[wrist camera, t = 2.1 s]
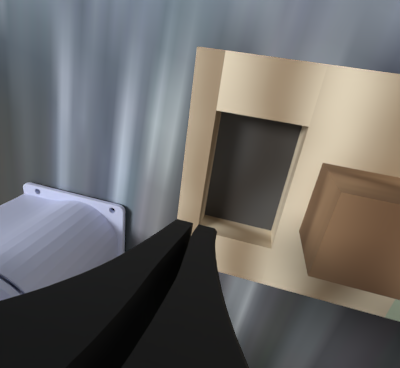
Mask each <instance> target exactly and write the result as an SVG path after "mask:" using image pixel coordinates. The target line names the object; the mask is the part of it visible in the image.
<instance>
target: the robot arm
mask: <svg viewBox="0 0 400 368" xmlns="http://www.w3.org/2000/svg"><path fill="white" fill-rule="evenodd" d="M23 190H24V194H23V195H21V196H19V197H17V198H15V199H13V200H11V201H9V202H7V203H4V204H2V205H0V368H249V367H248V364H247V362H246V359H245V357H244V354H243V352H242V349H241V347H240V345H239V342H238V340H237V337H236V335H235V332H234V329H233V326H232V323H231V320H230V317H229V314H228V311H227V308H226V304H225V301H224V297H223V293H222V289H221V284H220V280H219V274H218V268H217V261H216V250H215V240H216V235H217V231H216V229H215V228H211V227H207V226H203V225H198V226H197V227H196V228H195V230H194V232H193V233H192V227H193V223H191V222H187V221H183V220H179V219H177V220H175V221H174V222H172V223H171V224H169V225H168V226H166V227H165V228H163V229H162V230H160V231H159V232H157V233H156V234H154V235H153V236H151V237H150V238H148V239H147V240H145V241H143V242H142V243H140V244H139V245H137V246H135V247H134V248H132V249H130V250H128V251H127V252H125V208H124V207H123V206H122V205H119V204H115V203H111V202H107V201H103V200H99V199H95V198H91V197H87V196H83V195H79V194H75V193H71V192H67V191H63V190H59V189H55V188H51V187H47V186H43V185H39V184H35V183H31V182H28V183H26V184H24V185H23ZM39 190H40V191H39ZM112 208H114V210H115V211H113V210H112ZM191 234H192V236H191Z"/></svg>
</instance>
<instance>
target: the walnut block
mask: <svg viewBox="0 0 400 368" xmlns="http://www.w3.org/2000/svg"><path fill="white" fill-rule="evenodd" d="M299 234H300V239H301V244H302V249H303V254H304V259H305V264H306V269H307V274H308V276H310V277H314V278H317V279H321V280H325V281H329V282H332V283H336V284H340V285H344V286H348V287H351V288H355V289H359V290H363V291H367V292H370V293H374V294H378V295H382V296H386V297H389V298H393V299H397V300H400V178H399V177H393V176H388V175H383V174H378V173H373V172H368V171H363V170H358V169H352V168H347V167H342V166H337V165H332V164H327V163H323V164H322V166H321V169H320V172H319V175H318V178H317V181H316V184H315V187H314V189H313V192H312V195H311V198H310V201H309V204H308V207H307V210H306V212H305V215H304V218H303V221H302V224H301V227H300V230H299Z"/></svg>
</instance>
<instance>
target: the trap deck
mask: <svg viewBox="0 0 400 368" xmlns="http://www.w3.org/2000/svg"><path fill="white" fill-rule="evenodd" d="M323 163H327V164H332V165H337V166H342V167H347V168H352V169H358V170H363V171H368V172H373V173H378V174H383V175H388V176H393V177H399V178H400V74H394V73H387V72H380V71H372V70H365V69H358V68H350V67H343V66H336V65H328V64H321V63H314V62H307V61H299V60H292V59H285V58H277V57H270V56H263V55H256V54H248V53H241V52H234V51H226V50H219V49H212V48H205V47H197V53H196V61H195V70H194V78H193V87H192V96H191V104H190V113H189V122H188V130H187V139H186V147H185V156H184V165H183V173H182V182H181V191H180V199H179V208H178V216H177V219H179V220H183V221H187V222H191V223H193V227H192V233H193V232H194V230H195V228H196V227H197V226H198V225H203V226H207V227H211V228H215V229H216V231H217V235H216V240H215V250H216V261H217V268H218V272H222V273H225V274H229V275H233V276H236V277H240V278H243V279H247V280H251V281H254V282H258V283H262V284H265V285H269V286H272V287H276V288H280V289H283V290H287V291H291V292H294V293H298V294H301V295H305V296H309V297H312V298H316V299H320V300H323V301H327V302H330V303H334V304H338V305H341V306H345V307H349V308H352V309H356V310H360V311H363V312H367V313H370V314H374V315H378V316H381V317H385V318H389V319H392V320H396V321H399V322H400V300H397V299H393V298H389V297H386V296H382V295H378V294H374V293H370V292H367V291H363V290H359V289H355V288H351V287H348V286H344V285H340V284H336V283H332V282H329V281H325V280H321V279H317V278H314V277H310V276H308V274H307V269H306V264H305V259H304V254H303V249H302V244H301V239H300V234H299V230H300V227H301V224H302V221H303V218H304V215H305V212H306V210H307V207H308V204H309V201H310V198H311V195H312V192H313V189H314V187H315V184H316V181H317V178H318V175H319V172H320V169H321V166H322V164H323ZM191 236H192V234H191Z"/></svg>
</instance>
